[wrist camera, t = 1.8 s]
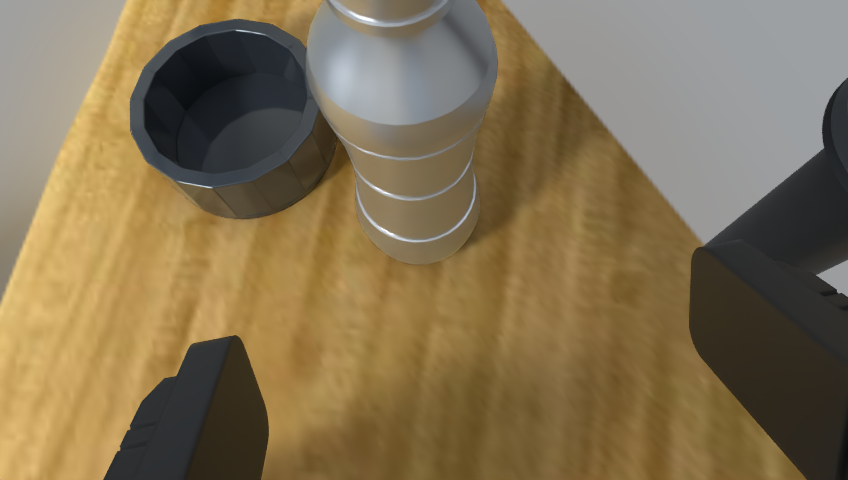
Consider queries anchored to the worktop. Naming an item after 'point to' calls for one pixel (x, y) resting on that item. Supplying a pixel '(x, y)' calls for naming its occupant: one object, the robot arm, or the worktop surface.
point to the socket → (232, 119)
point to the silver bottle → (407, 114)
